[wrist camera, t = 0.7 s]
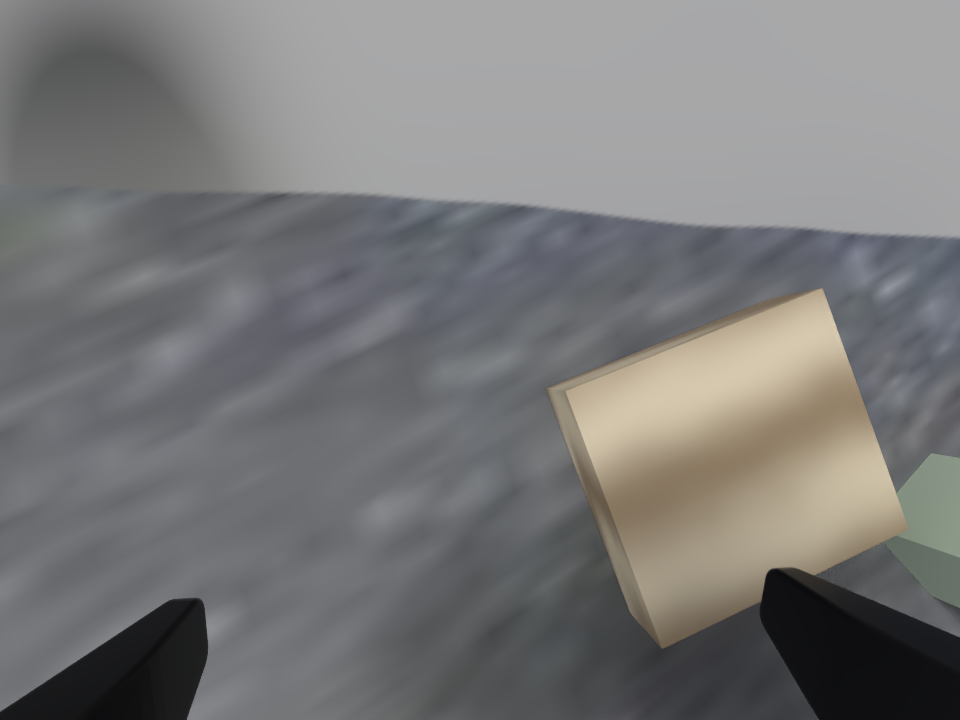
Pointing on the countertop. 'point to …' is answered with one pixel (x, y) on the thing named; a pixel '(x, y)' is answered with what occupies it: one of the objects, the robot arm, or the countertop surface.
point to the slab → (727, 462)
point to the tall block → (932, 527)
